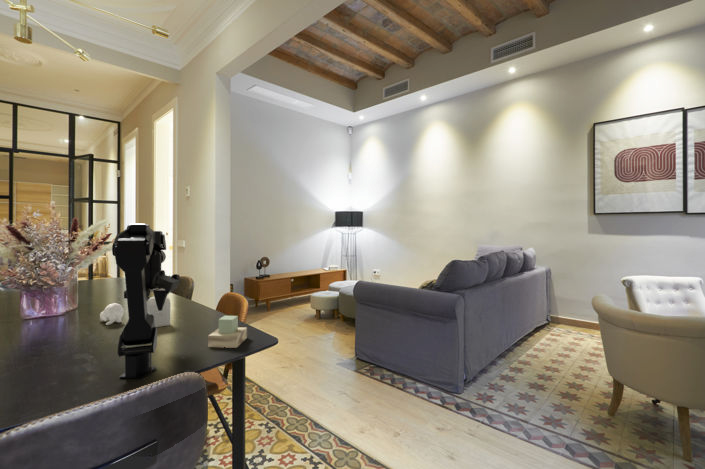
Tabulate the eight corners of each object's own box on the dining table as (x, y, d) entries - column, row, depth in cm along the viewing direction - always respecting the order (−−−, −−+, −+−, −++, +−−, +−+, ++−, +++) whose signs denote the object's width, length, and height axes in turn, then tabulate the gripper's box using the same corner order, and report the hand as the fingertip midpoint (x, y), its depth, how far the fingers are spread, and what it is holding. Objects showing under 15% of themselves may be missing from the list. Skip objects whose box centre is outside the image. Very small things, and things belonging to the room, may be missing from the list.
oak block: (236, 347, 113) (236, 336, 113) (208, 347, 114) (208, 335, 114) (246, 337, 123) (246, 327, 123) (220, 337, 124) (220, 326, 124)
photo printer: (170, 323, 141) (169, 294, 140) (170, 325, 137) (170, 296, 137) (141, 327, 135) (141, 297, 135) (141, 329, 131) (141, 299, 131)
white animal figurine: (108, 305, 135) (93, 304, 141) (109, 326, 135) (94, 324, 141) (124, 302, 141) (110, 301, 146) (126, 322, 140) (111, 320, 146)
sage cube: (232, 333, 116) (232, 319, 116) (218, 333, 116) (218, 319, 116) (237, 329, 121) (237, 315, 121) (224, 329, 121) (224, 315, 121)
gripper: (157, 272, 101) (157, 322, 102) (189, 265, 120) (189, 307, 120) (122, 271, 101) (122, 321, 102) (159, 264, 120) (160, 307, 121)
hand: (151, 314), depth 111 cm, fingers open, 9 cm apart
